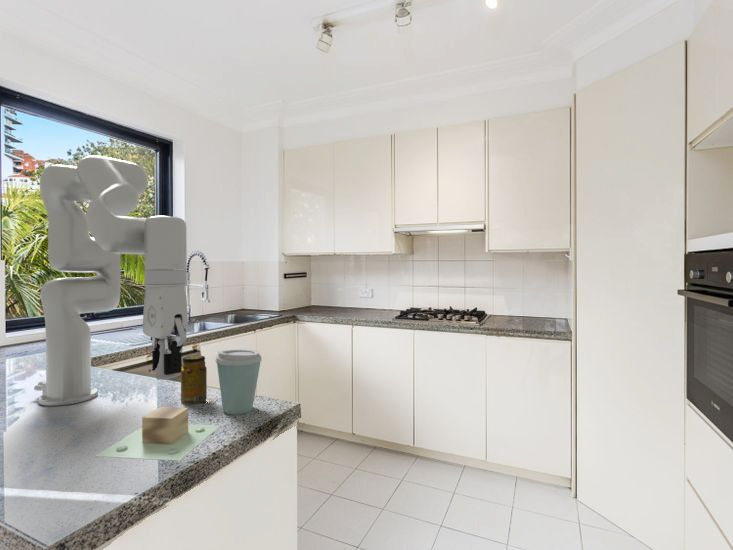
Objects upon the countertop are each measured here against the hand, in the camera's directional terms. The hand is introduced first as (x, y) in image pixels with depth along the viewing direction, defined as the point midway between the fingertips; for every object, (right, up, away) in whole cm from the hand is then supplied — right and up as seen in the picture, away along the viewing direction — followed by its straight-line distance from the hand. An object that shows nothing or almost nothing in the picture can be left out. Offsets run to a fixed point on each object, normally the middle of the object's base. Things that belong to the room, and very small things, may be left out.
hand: (166, 370), depth 81 cm
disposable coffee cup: (+9, -14, +17) cm, 24 cm away
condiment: (-3, -14, +23) cm, 27 cm away
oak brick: (0, -13, 0) cm, 13 cm away
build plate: (-1, -14, -1) cm, 14 cm away
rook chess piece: (0, -2, 0) cm, 2 cm away
